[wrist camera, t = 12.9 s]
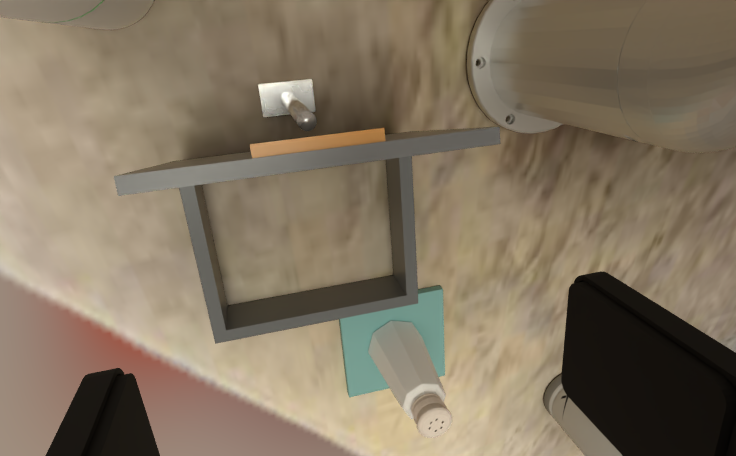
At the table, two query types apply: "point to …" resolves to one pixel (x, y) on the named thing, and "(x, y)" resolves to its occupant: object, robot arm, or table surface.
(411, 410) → the salt shaker
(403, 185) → the case
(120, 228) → the table surface
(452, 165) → the table surface
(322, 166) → the lid
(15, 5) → the cylindrical container
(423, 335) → the pad
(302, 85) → the post
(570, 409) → the travel mug
